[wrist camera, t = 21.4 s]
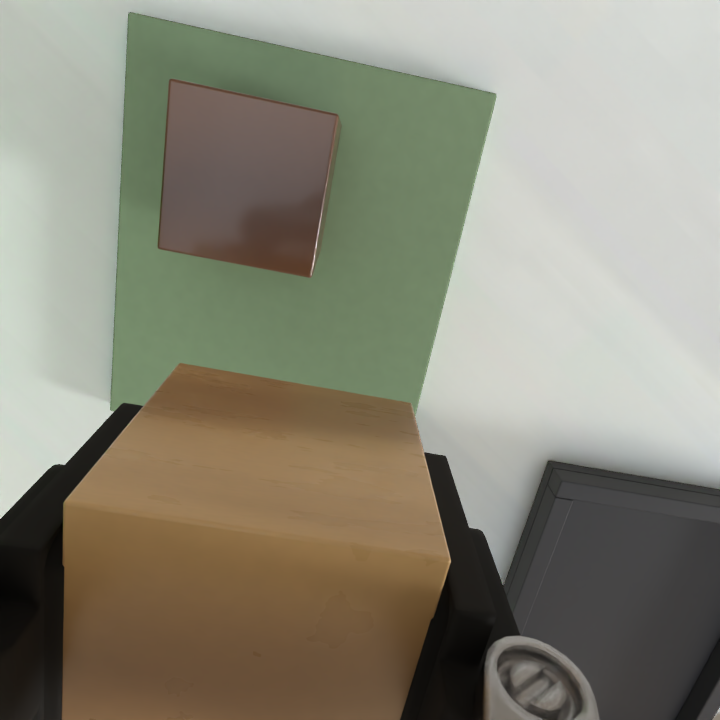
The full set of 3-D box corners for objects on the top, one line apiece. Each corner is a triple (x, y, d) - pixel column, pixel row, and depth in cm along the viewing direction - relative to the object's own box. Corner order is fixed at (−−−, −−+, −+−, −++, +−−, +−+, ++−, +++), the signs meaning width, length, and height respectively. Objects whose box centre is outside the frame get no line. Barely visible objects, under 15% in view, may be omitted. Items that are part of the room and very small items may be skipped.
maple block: (178, 361, 10) (61, 501, 6) (412, 401, 11) (452, 560, 6) (161, 554, 12) (57, 774, 7) (366, 584, 12) (376, 809, 8)
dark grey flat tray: (548, 460, 24) (561, 481, 22) (797, 502, 25) (826, 525, 23) (456, 717, 29) (462, 747, 27) (664, 744, 30) (681, 775, 28)
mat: (134, 15, 18) (127, 11, 17) (493, 95, 19) (497, 93, 18) (115, 404, 23) (109, 411, 22) (402, 453, 23) (404, 460, 23)
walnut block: (209, 95, 18) (167, 77, 14) (342, 123, 18) (339, 114, 14) (197, 229, 20) (156, 249, 15) (320, 253, 20) (311, 279, 16)
